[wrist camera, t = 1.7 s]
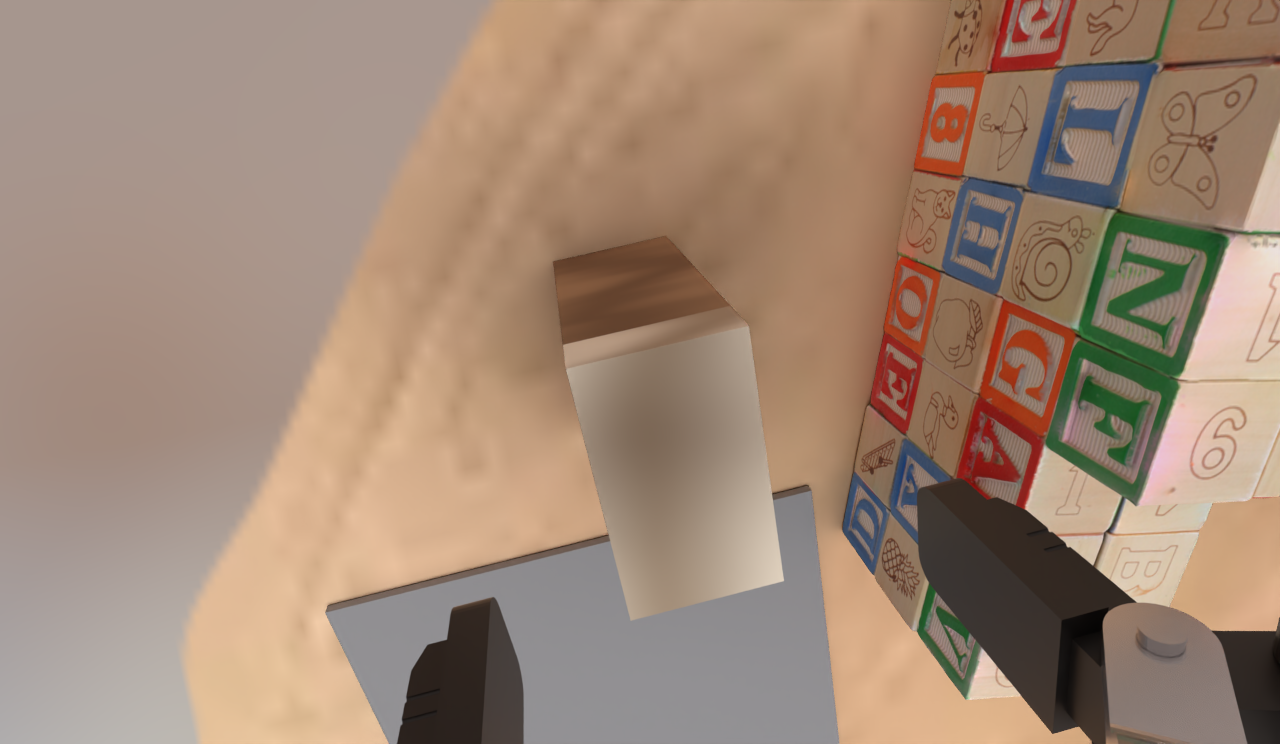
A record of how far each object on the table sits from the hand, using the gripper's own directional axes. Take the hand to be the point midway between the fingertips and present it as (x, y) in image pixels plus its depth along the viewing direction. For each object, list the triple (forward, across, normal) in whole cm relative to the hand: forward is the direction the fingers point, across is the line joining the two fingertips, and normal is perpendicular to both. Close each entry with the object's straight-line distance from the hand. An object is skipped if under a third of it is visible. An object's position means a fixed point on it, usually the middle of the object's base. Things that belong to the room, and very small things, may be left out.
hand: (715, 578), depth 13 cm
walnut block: (+14, 0, 0) cm, 14 cm away
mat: (+13, +4, +17) cm, 22 cm away
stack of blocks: (+14, -13, +1) cm, 19 cm away
